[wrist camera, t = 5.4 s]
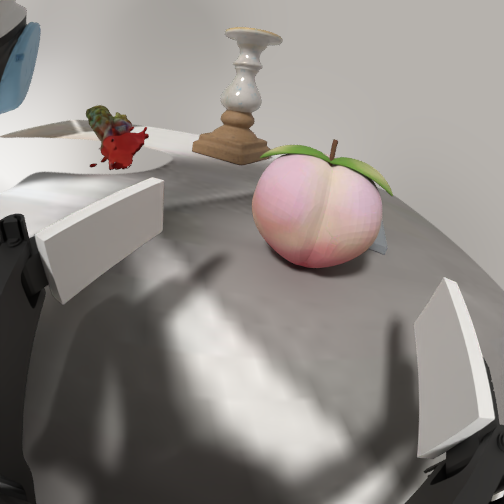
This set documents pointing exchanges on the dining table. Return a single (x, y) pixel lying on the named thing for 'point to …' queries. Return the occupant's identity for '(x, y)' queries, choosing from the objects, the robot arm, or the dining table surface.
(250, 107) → the candle holder
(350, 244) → the decorative fruit
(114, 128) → the figurine
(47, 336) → the dining table surface
